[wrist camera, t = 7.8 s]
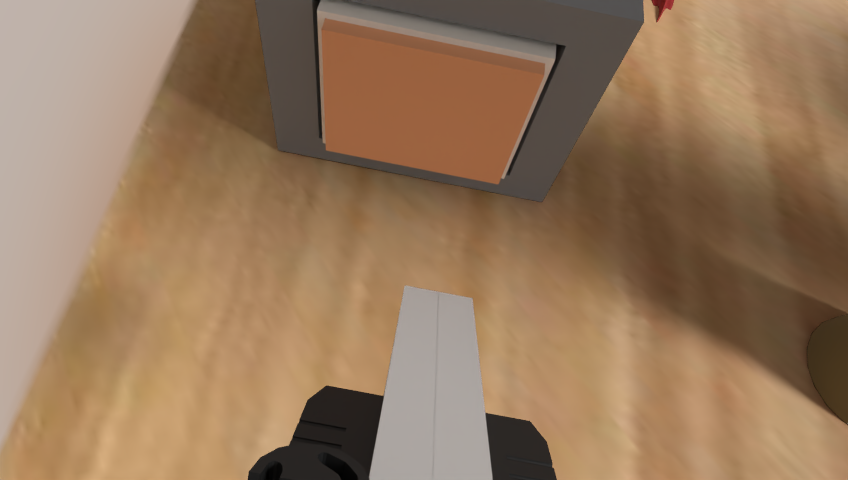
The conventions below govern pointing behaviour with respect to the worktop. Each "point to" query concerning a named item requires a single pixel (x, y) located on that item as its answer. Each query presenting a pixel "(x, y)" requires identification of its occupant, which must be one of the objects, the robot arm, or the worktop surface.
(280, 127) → the gray box
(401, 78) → the orange drawer
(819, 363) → the cork
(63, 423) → the worktop surface
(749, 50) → the worktop surface
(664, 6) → the cayenne pepper
